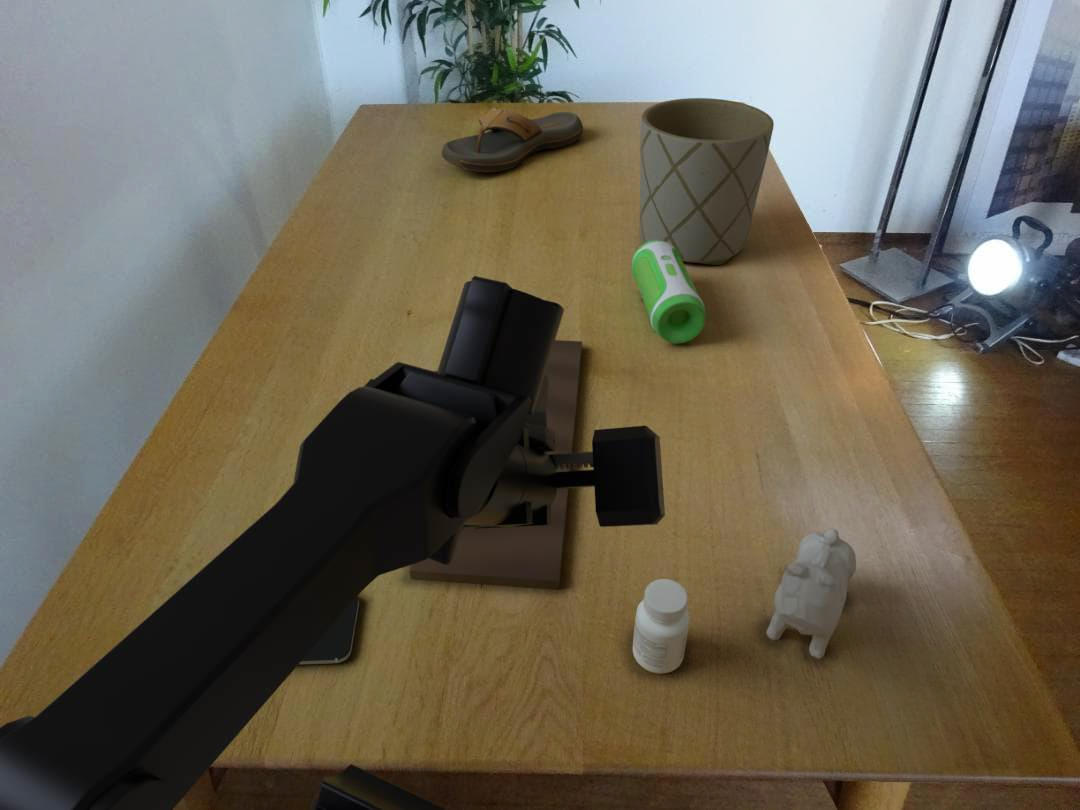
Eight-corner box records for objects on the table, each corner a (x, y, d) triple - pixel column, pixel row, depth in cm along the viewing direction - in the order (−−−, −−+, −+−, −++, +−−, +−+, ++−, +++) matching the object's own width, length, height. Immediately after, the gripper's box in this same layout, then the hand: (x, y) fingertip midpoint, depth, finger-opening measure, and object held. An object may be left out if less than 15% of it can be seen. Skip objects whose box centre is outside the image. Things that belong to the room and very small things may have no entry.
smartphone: (348, 659, 68) (168, 665, 68) (349, 664, 68) (170, 670, 68) (359, 590, 74) (193, 595, 73) (360, 595, 74) (195, 600, 74)
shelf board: (558, 589, 75) (558, 581, 74) (410, 579, 76) (408, 570, 75) (581, 348, 106) (582, 341, 105) (476, 343, 107) (476, 336, 106)
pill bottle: (665, 624, 72) (674, 566, 67) (693, 663, 68) (704, 605, 64) (622, 642, 70) (628, 584, 65) (649, 683, 67) (657, 625, 62)
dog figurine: (749, 669, 68) (769, 587, 61) (793, 566, 77) (815, 485, 70) (811, 697, 66) (840, 616, 59) (849, 588, 75) (878, 507, 68)
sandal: (422, 164, 157) (418, 115, 151) (557, 125, 174) (558, 80, 168) (464, 186, 148) (460, 135, 143) (601, 143, 165) (603, 96, 160)
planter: (739, 280, 120) (761, 149, 108) (617, 258, 126) (625, 131, 113) (761, 227, 134) (783, 105, 122) (650, 210, 140) (660, 92, 127)
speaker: (627, 283, 120) (630, 236, 115) (675, 280, 120) (680, 234, 116) (650, 349, 106) (655, 299, 101) (705, 346, 106) (712, 296, 102)
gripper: (630, 322, 46) (669, 375, 60) (338, 358, 51) (439, 398, 66) (643, 521, 44) (680, 526, 58) (337, 537, 49) (442, 537, 64)
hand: (554, 491), depth 61 cm, fingers open, 9 cm apart
